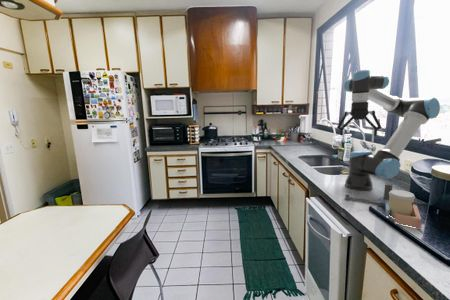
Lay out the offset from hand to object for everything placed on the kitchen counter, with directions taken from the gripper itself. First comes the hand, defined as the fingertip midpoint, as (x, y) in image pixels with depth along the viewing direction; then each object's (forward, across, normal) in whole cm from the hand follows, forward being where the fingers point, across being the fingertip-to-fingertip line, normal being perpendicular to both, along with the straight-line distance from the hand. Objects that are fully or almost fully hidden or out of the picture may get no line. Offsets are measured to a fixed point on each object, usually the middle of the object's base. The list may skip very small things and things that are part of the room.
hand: (357, 141), depth 121 cm
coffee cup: (+33, +18, -16) cm, 41 cm away
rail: (+32, +9, -3) cm, 34 cm away
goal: (+32, +21, -16) cm, 42 cm away
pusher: (+32, +14, -11) cm, 37 cm away
